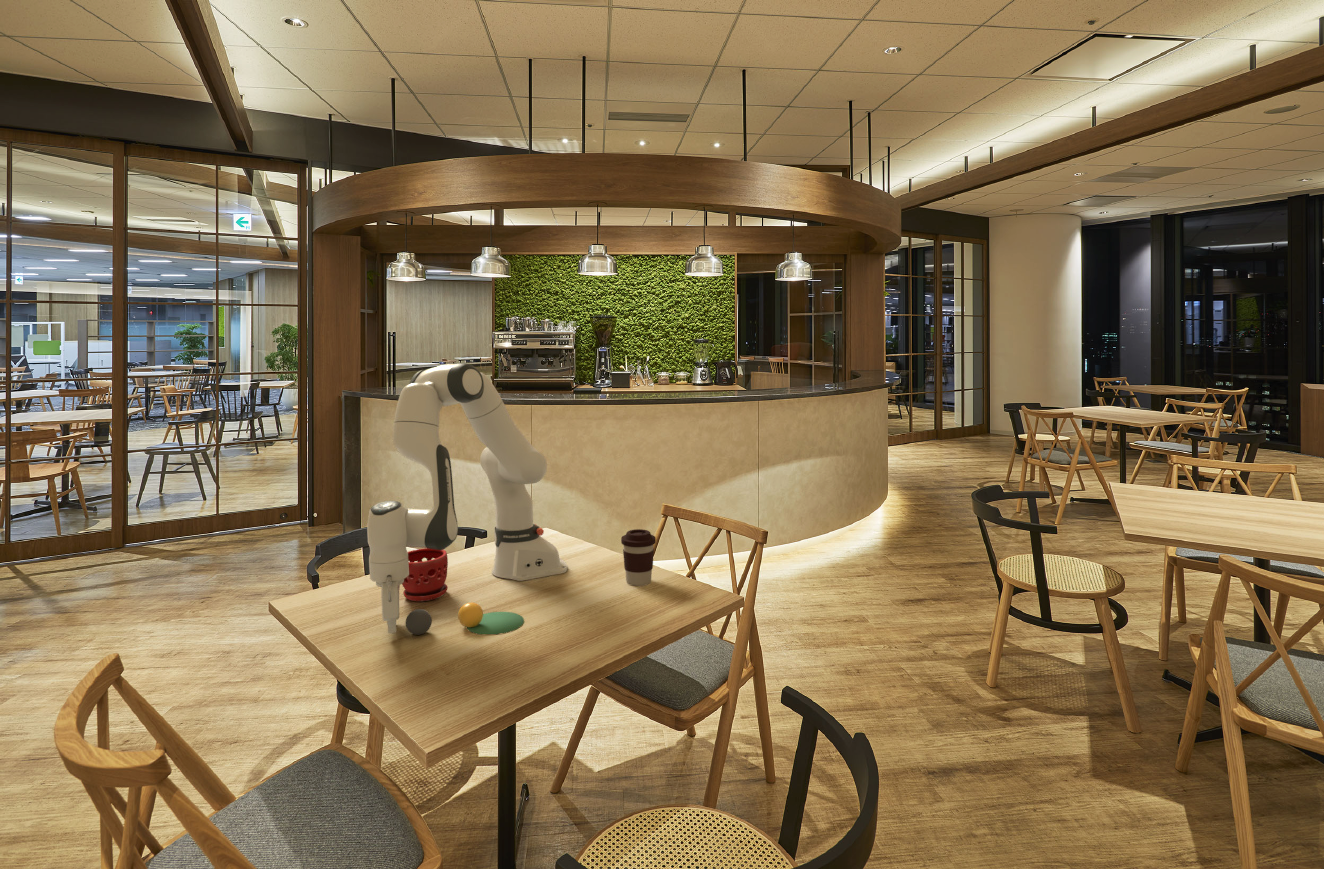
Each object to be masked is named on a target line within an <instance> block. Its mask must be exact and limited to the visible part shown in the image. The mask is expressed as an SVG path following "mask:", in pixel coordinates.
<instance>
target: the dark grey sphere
mask: <svg viewBox="0 0 1324 869" xmlns="http://www.w3.org/2000/svg"><path fill="white" fill-rule="evenodd" d="M404 624H405V627H406V628H405V629H406V630H407V631H408V632H409V633H410V634H412V635H415V636H417V635H418V636H419V635H424V634H425V633H427V632H428V631H429V630H430V628H431V626H432V624H433V619H432V615H431V614H430V612H429V611H427V610H426V609H422V608H417V609H414V610H412V611H410V613H408V615H407V616H406V618H405V622H404Z"/></svg>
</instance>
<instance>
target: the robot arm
mask: <svg viewBox="0 0 1324 869" xmlns="http://www.w3.org/2000/svg"><path fill="white" fill-rule="evenodd" d="M455 405H460V406H461V408H462V410H463V412H464V414H465V416H466V419H467V420H468V422H469V424H470V426H471V428H472V430H473V432H474V433H475V435H476V437H477V439H478V440H479V442H481V443H482V444H483V445H485V448H484V449H483V450H482V451H481V453H480V457H479V458H480V459H479V463H480V466H481V468H482V470H483V471H484V473H485V474H486V476H487V479H488V481H489V485H490V489H491V491H492V495H493V500H494V508H495V509H494V510H495V527H494V533H493V534H494V545H495V557H494V562H493V568H492V570H491V573H492V574H493V575H494V576H495V577H498V578H502V579H508V580H514V581H518V582H522V581H528V580H533V579H538V578H543V577H548V576H554V575H559V574H565V573H566V572H567V571H568V564H567V563H566V561H565V560H564V559H561V558H560V554H559V551H558V549H557V547H556V546H555V545H554V544H553V543H551V541H548V540H547V539H545V538H544V537H542V536H543V535H544V532H545V531H544V529H543V528H542V527H540V526H539V525H537V524H535V523H534V501H533V498H532V497H531V495H530V493H529V491H528V490H527V488H526V485H532V484H537V483H539V482H541V480H542V479H543V478H544V477H545V475H546V474H547V470H548V463H547V459H546V457H545V456H544V454H542V453H541V452H540V451H539V450H537V448H535V447H534V445H533V444H531V442H530V441H529V440H528V438H527V437H526V436H525V435H524V434H523V432H522V431H521V430H520V429H519V427H518V425H516V424H515V422H514V420H513V418H512V417H511V415H510V412H509V410H508V409H507V407H506V405H505V403H504V401H503V399H502V397H501V396H500V393H499V392H498V390H497V389H496V387H495V386H494V384H493V383H492V381H491V380H490V378H489V377H488V376H487V375H486V374H485V373H484V372H482V371H479V369H478V368H477V367H475V365H472V364H470V363H465V362H459V363H458V362H457V363H449V364H447V363H446V364H440V365H438V366H434V367H431V368H424V369H421V370H419V371H417V372H416V373H415V374H414V375H413V376H412V377H411V378H410V381H409V384H407V385H405V386H404V387H403V388H402V390H401V391H400V394H399V397H398V400H397V404H396V408H395V413H394V419H393V427H392V442H393V445H394V448H395V450H397V452H398V453H400V455H402V456H403V457H404V458H406V459H408V460H410V461H412V462H414V463H416V464H419V465H421V466H422V467H424V468H426V469H427V471H428V472H429V473H430V477H431V482H432V483H431V486H432V496H433V497H432V499H433V500H432V502H433V506H432V508H431V509H429V508H412V507H406V506H405V507H404V506H403V504H402V503H401V502H400V501H397V500H385V501H381V502H378V503H376V504H373V505H372V506H371V508H370V509H369V512H368V516H367V528H366V531H367V543H368V546H369V557H368V567H369V579H370V581H372V582H375V586H377V587H379V588H381V591H380V592H381V593H380V594H381V595H380V596H381V597H380V599H381V616H382V620H383V621H384V622H386V625H387V633H388V634H395V633H396V632H397V620H399V619H400V587H401V585H402V583H403V582H404V578H406V577H407V576H408V575H409V561H408V552H409V551H408V550H407V547H408V548H417V549H424V548H428V549H435V550H445V549H447V548H448V547H450V546H451V545H452V544H454V542H455V540H457V537H458V533H459V526H458V524H459V523H458V519H457V515H456V509H455V498H454V497H455V496H454V485H453V471H452V463H451V457H450V453H449V450H448V448H447V447H446V446H445V445H443V444H442V442H441V439H440V433H439V429H440V412H441V410H442V407H451V406H455Z"/></svg>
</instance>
